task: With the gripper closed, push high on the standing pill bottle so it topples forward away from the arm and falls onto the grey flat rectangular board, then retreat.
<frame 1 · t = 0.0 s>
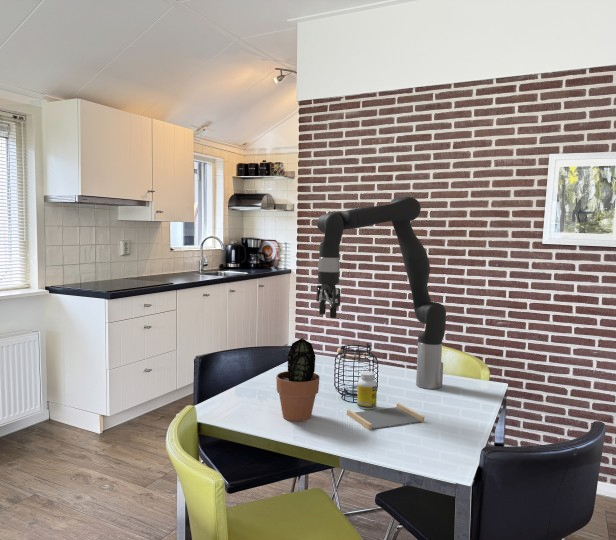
hand: (327, 316, 181), 29 cm above the table, fingers open, 8 cm apart
potted plant: (296, 417, 162), on the table
pill bottle: (366, 407, 174), on the table
grey flat rectangular board: (384, 418, 163), on the table
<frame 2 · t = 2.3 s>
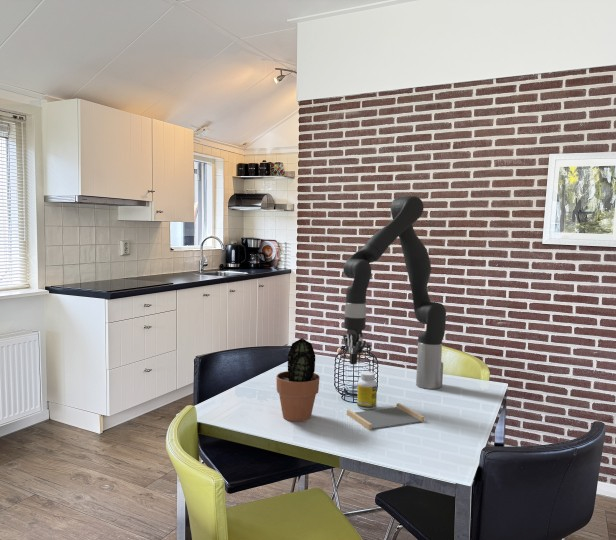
hand: (353, 363, 182), 12 cm above the table, fingers closed
nothing on the table moved.
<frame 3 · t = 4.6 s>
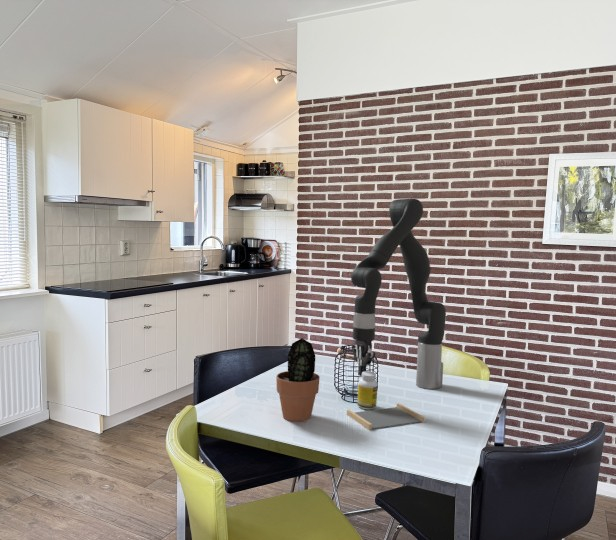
hand: (361, 375, 176), 10 cm above the table, fingers closed
pill bottle: (366, 406, 174), on the table, touching gripper
everything else where it was.
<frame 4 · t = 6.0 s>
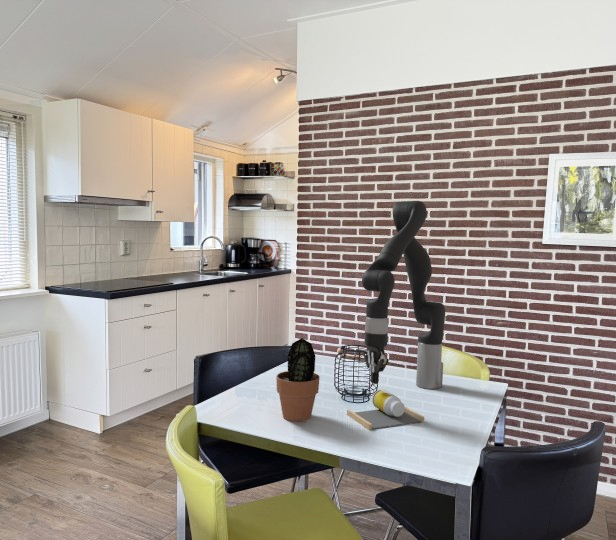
hand: (374, 382, 169), 10 cm above the table, fingers closed
pill bottle: (379, 398, 172), point 4 cm above the table, touching grey flat rectangular board
everything else where it was.
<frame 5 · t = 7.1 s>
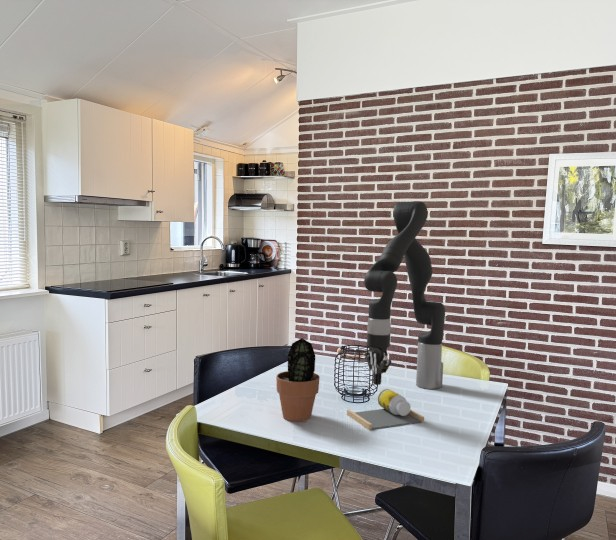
hand: (376, 384, 168), 10 cm above the table, fingers closed
pill bottle: (384, 397, 173), point 4 cm above the table, touching grey flat rectangular board
everything else where it was.
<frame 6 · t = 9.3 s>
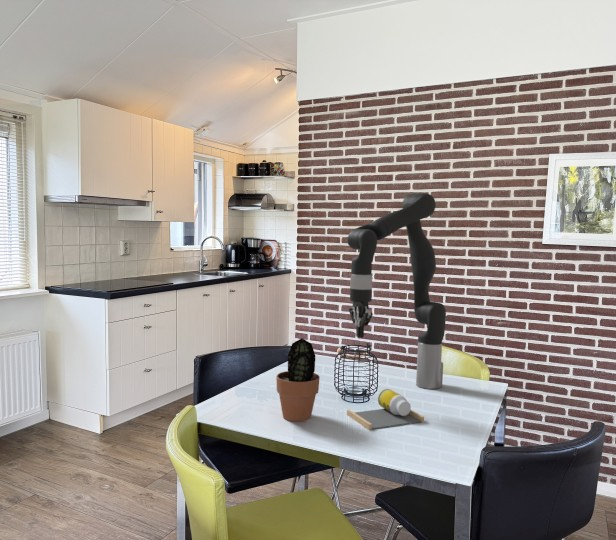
hand: (359, 337, 178), 23 cm above the table, fingers closed
nothing on the table moved.
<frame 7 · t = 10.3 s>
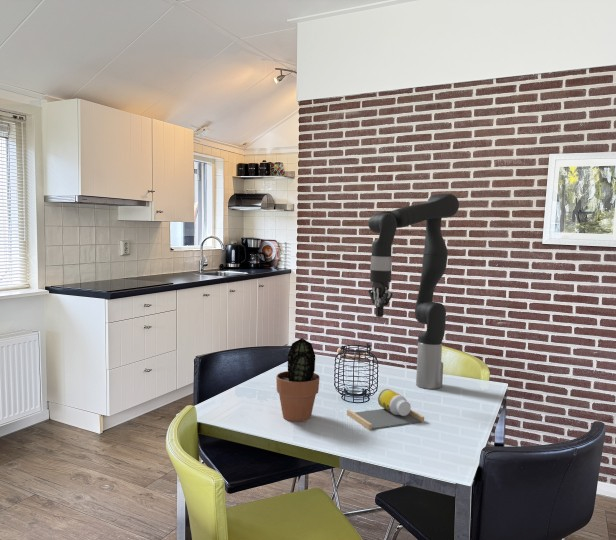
hand: (379, 316, 185), 29 cm above the table, fingers closed
nothing on the table moved.
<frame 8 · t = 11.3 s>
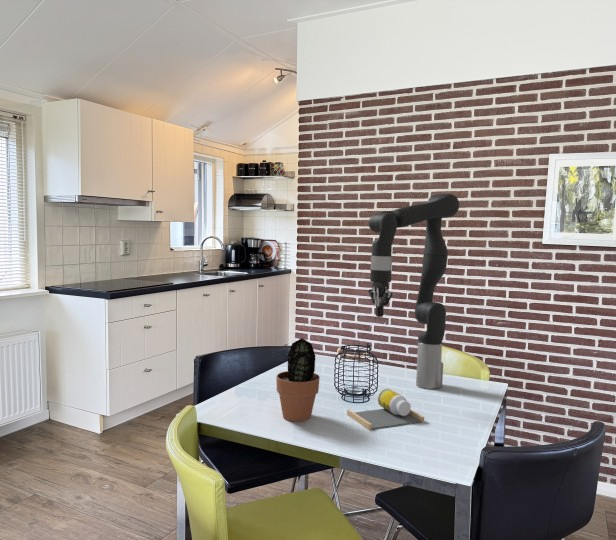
hand: (379, 316, 185), 29 cm above the table, fingers closed
nothing on the table moved.
at the end: pill bottle tilted 90°; pill bottle inside the target area (10.3 cm from its centre), point 3.6 cm above the table; the gripper is holding nothing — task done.
